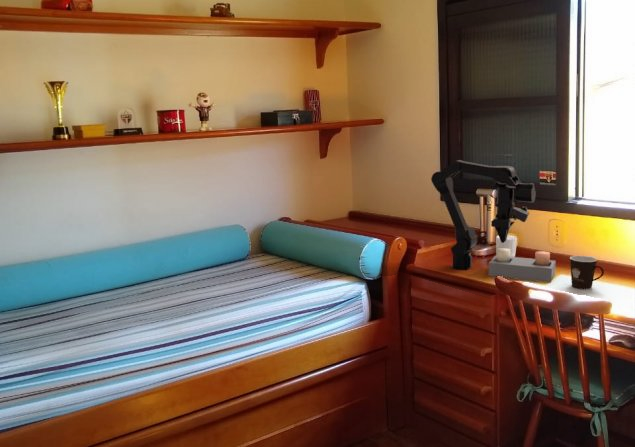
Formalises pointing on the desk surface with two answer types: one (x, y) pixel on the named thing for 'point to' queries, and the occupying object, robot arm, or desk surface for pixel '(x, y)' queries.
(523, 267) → the grey rectangular block
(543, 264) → the terracotta button
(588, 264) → the coffee mug
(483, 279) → the desk surface
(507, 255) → the white short cylinder
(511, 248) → the white cup
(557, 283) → the desk surface
